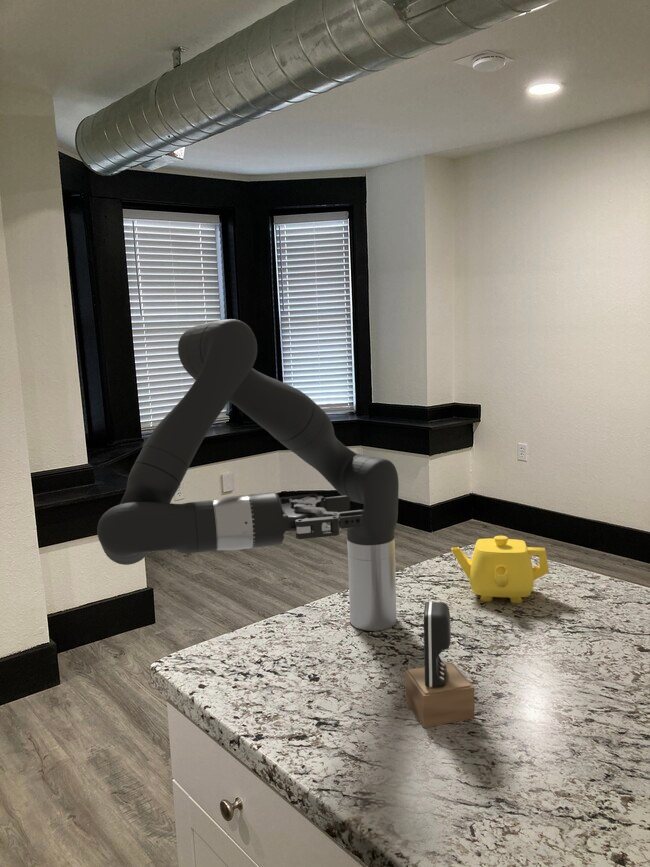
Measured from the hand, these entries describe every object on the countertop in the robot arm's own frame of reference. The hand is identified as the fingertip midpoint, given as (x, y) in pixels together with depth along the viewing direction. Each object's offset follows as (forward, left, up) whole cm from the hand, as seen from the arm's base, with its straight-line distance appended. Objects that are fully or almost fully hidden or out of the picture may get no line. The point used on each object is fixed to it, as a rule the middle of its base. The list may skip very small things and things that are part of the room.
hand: (357, 509), depth 103 cm
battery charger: (+3, +11, -27) cm, 29 cm away
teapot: (-33, +40, -32) cm, 61 cm away
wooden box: (+3, +11, -32) cm, 34 cm away
